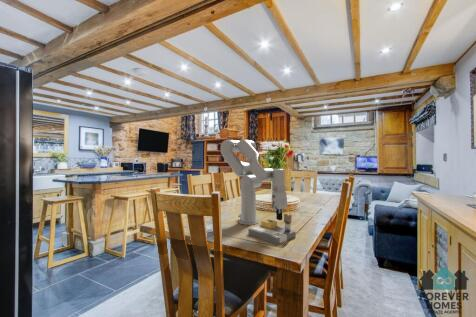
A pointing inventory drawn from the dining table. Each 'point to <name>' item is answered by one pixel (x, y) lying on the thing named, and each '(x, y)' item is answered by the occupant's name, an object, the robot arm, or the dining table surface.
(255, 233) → the subfloor board
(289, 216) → the awl
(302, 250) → the dining table surface
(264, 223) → the block
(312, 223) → the dining table surface
